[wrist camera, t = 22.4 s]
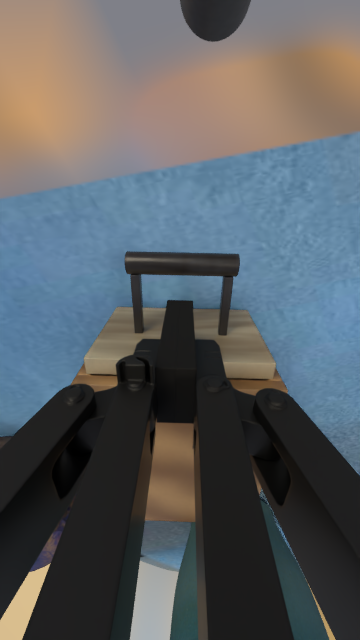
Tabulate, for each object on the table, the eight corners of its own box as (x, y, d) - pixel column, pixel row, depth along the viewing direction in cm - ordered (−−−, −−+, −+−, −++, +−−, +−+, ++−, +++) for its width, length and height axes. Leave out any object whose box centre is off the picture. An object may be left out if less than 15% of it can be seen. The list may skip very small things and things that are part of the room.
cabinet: (114, 314, 23) (70, 384, 14) (249, 317, 23) (288, 390, 14) (126, 424, 30) (101, 518, 21) (232, 428, 30) (251, 524, 21)
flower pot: (181, 544, 43) (177, 736, 27) (160, 482, 35) (139, 702, 20) (288, 539, 41) (347, 741, 26) (291, 472, 33) (380, 706, 18)
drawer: (109, 240, 19) (65, 264, 12) (257, 243, 19) (298, 269, 12) (128, 416, 28) (108, 490, 21) (230, 420, 28) (245, 495, 21)
